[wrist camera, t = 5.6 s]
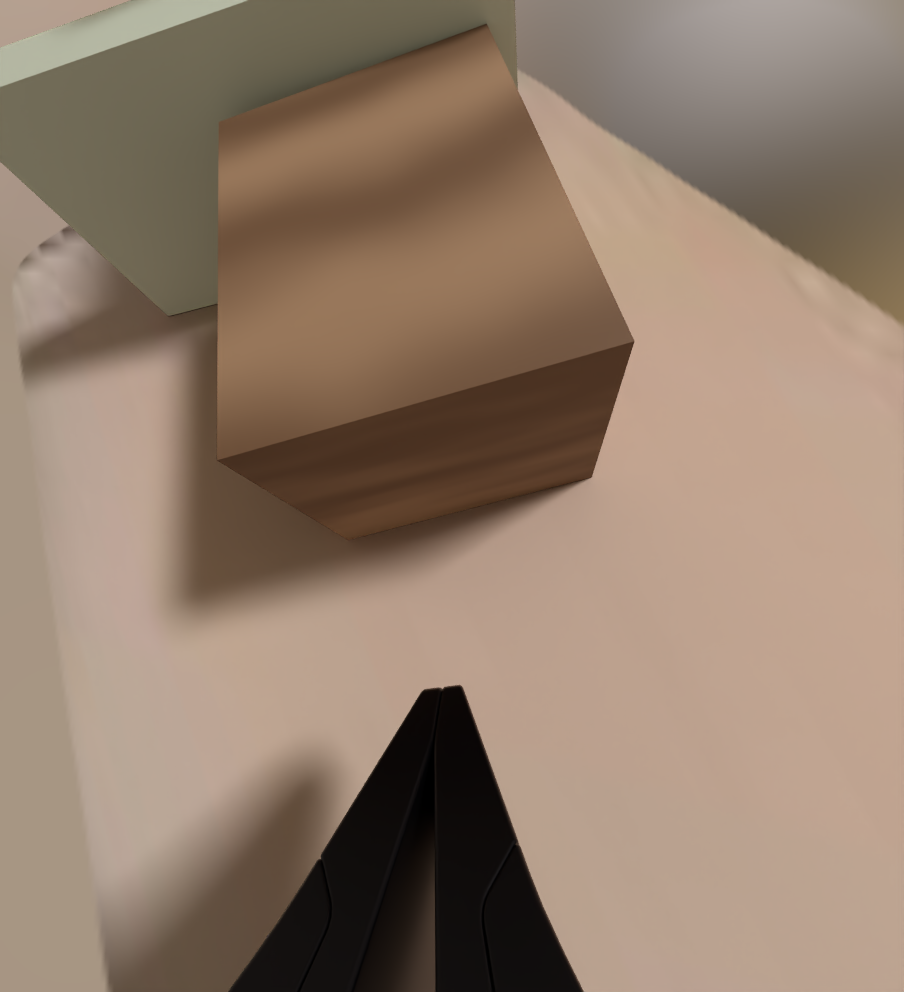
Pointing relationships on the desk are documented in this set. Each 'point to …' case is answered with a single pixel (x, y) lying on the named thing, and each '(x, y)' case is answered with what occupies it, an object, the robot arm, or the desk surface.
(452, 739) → the robot arm
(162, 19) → the sage board
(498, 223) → the walnut block
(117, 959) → the desk surface
